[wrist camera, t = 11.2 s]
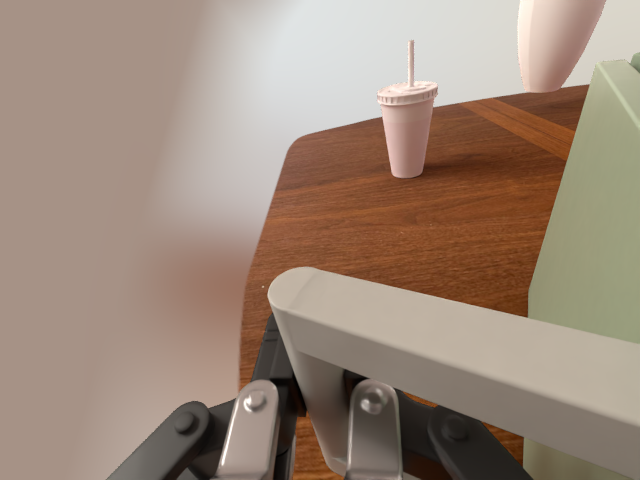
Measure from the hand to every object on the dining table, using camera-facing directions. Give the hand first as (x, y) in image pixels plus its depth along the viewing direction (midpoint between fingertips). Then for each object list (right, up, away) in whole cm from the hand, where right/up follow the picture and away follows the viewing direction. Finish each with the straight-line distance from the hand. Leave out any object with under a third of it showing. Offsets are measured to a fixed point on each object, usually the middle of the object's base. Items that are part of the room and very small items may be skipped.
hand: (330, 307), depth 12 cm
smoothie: (+10, +11, +27) cm, 31 cm away
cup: (+35, +24, +39) cm, 57 cm away
